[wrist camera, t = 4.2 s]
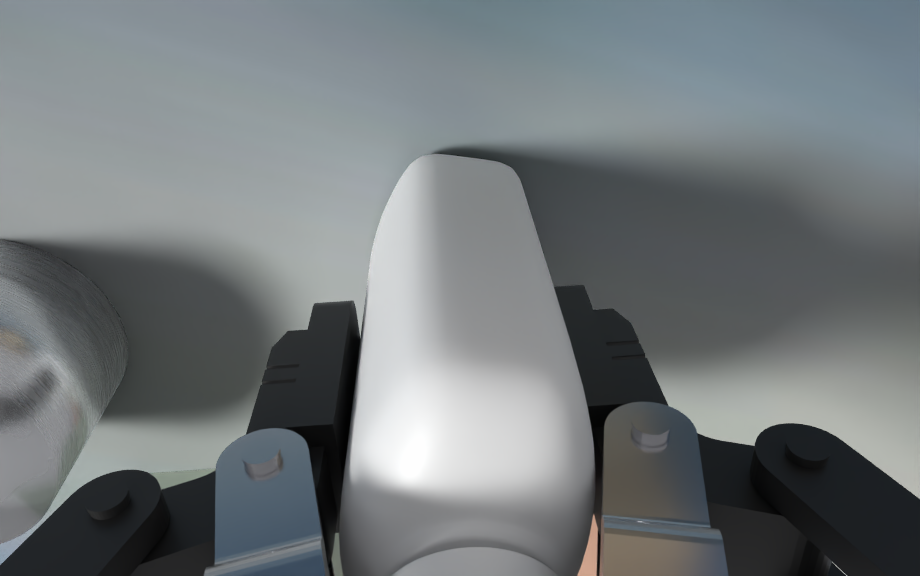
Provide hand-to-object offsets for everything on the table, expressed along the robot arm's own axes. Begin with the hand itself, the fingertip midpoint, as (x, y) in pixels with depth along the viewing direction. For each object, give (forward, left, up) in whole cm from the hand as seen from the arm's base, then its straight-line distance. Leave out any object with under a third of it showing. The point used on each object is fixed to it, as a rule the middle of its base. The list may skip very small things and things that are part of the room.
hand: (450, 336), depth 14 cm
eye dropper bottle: (0, 0, -3) cm, 3 cm away
